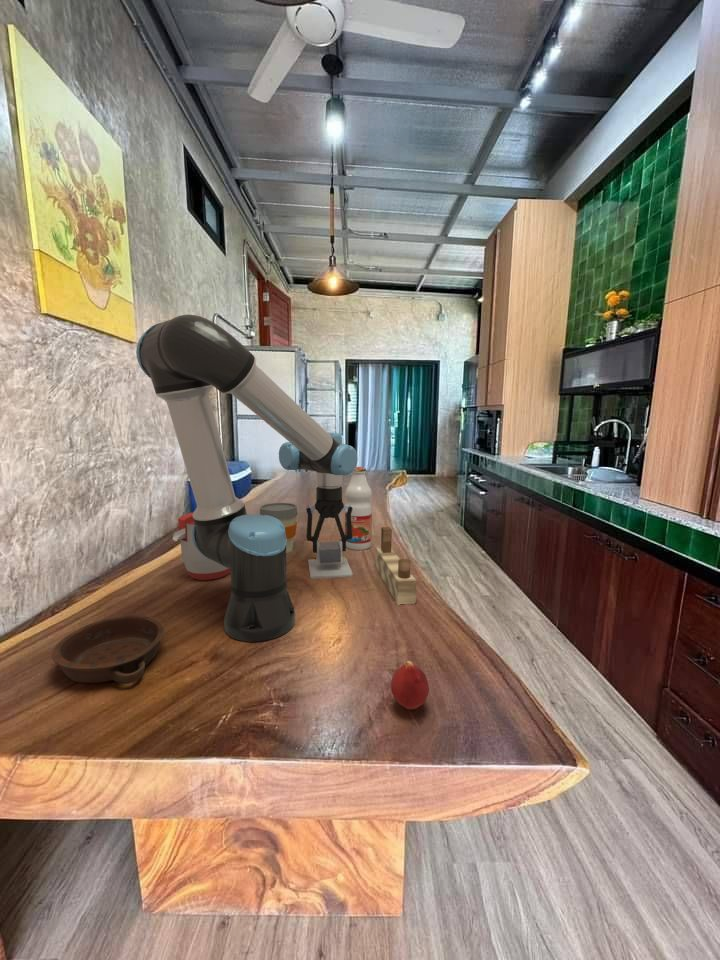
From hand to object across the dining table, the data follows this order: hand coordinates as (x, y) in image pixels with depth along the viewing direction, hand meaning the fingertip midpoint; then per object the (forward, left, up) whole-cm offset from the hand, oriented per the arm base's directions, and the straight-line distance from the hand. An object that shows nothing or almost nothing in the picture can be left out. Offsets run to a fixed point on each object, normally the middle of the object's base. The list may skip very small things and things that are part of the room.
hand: (329, 562), depth 120 cm
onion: (-29, -53, -2) cm, 60 cm away
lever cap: (0, 0, +1) cm, 1 cm away
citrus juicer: (-28, +21, -2) cm, 35 cm away
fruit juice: (+21, +9, -2) cm, 23 cm away
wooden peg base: (+6, -20, -2) cm, 21 cm away
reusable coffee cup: (-1, +25, -2) cm, 25 cm away
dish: (-59, -7, -2) cm, 59 cm away
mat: (0, 0, -2) cm, 2 cm away
